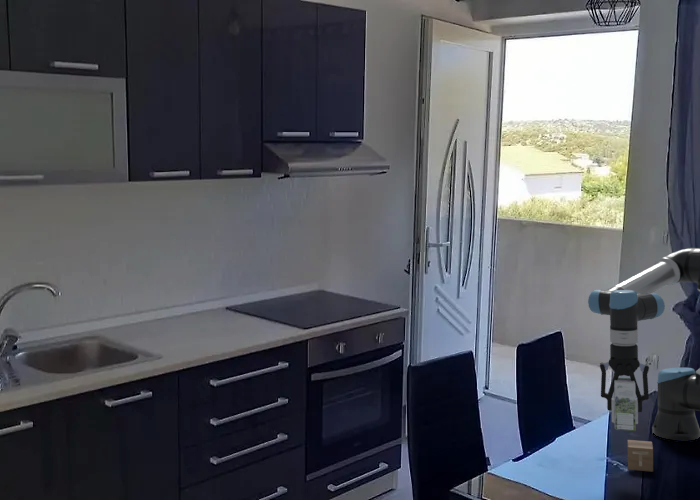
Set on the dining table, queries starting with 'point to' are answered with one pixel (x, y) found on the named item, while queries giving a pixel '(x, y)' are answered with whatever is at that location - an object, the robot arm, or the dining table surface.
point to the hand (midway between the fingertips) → (624, 421)
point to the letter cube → (640, 455)
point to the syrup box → (624, 404)
